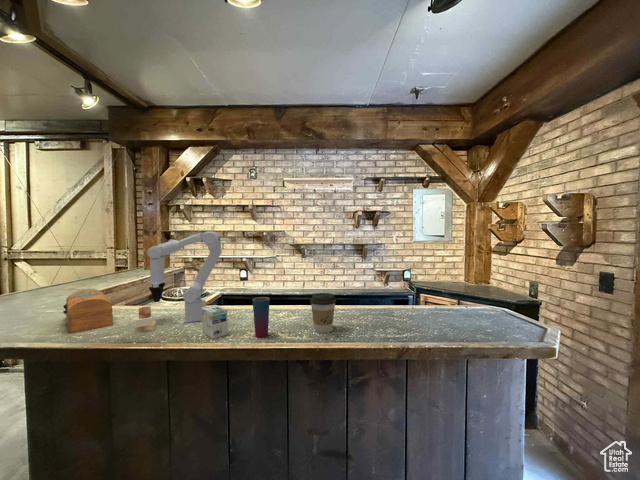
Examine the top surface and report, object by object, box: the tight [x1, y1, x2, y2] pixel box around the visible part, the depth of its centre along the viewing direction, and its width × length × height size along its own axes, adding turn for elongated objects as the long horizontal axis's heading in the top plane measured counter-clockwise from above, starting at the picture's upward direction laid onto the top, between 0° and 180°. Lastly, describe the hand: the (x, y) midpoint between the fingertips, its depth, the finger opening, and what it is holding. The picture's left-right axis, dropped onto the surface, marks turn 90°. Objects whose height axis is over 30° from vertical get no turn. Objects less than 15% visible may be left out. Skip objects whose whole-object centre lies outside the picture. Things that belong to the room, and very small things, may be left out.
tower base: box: [134, 319, 157, 334], centre depth 117 cm, size 7×7×3 cm
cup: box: [252, 296, 271, 339], centre depth 109 cm, size 7×7×15 cm
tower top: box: [134, 313, 154, 327], centre depth 117 cm, size 6×6×3 cm
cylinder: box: [138, 306, 152, 319], centre depth 117 cm, size 4×4×4 cm
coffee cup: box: [309, 292, 337, 334], centre depth 114 cm, size 11×11×15 cm
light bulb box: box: [201, 304, 229, 340], centre depth 112 cm, size 11×7×11 cm, turn 45°
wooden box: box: [62, 288, 114, 334], centre depth 128 cm, size 30×16×14 cm, turn 44°
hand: (157, 300), depth 127 cm, fingers open, 7 cm apart
